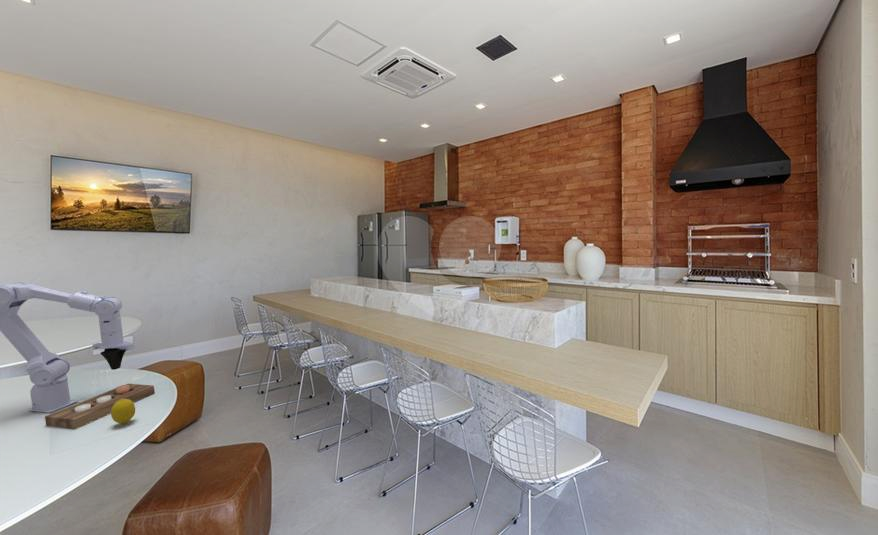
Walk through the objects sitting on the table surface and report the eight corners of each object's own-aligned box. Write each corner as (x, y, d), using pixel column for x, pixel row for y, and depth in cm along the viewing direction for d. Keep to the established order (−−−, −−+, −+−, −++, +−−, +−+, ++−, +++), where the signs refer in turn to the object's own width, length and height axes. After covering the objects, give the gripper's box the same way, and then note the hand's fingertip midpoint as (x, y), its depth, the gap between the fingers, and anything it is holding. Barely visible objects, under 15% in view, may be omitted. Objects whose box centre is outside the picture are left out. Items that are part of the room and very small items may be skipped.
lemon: (122, 429, 105) (119, 403, 105) (107, 427, 106) (104, 402, 106) (141, 419, 111) (138, 395, 110) (127, 418, 112) (124, 394, 111)
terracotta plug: (114, 396, 123) (113, 388, 123) (125, 392, 127) (124, 384, 127) (122, 397, 123) (121, 389, 122) (133, 392, 126) (132, 384, 126)
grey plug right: (72, 417, 112) (71, 408, 112) (86, 412, 115) (85, 403, 115) (81, 418, 111) (80, 409, 111) (94, 412, 115) (93, 404, 114)
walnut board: (46, 425, 109) (44, 416, 108) (128, 391, 132) (128, 383, 132) (75, 429, 106) (74, 419, 106) (154, 393, 130) (153, 385, 129)
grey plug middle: (94, 408, 118) (93, 399, 117) (106, 403, 121) (105, 395, 121) (103, 409, 117) (101, 400, 117) (115, 404, 120) (113, 395, 120)
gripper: (81, 334, 123) (86, 372, 124) (118, 335, 121) (122, 373, 122) (102, 329, 130) (107, 365, 131) (137, 329, 128) (142, 365, 129)
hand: (116, 368), depth 127 cm, fingers closed
